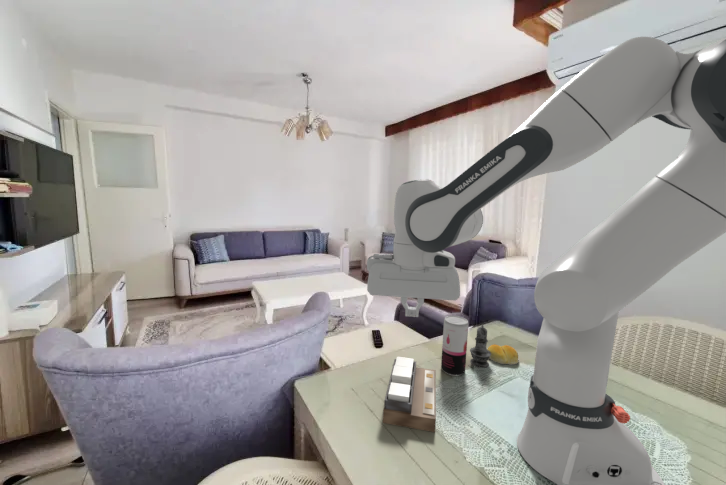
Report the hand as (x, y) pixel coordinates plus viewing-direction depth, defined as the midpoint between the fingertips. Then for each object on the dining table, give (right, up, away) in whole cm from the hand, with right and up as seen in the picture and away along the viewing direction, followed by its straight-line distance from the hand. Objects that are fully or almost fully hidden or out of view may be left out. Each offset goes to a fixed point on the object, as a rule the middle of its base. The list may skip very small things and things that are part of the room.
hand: (411, 315), depth 70 cm
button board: (+1, -22, +5) cm, 22 cm away
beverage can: (+15, -20, +18) cm, 31 cm away
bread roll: (+32, -20, +26) cm, 45 cm away
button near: (-3, -19, -1) cm, 19 cm away
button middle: (-2, -17, +5) cm, 18 cm away
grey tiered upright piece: (+24, -20, +22) cm, 38 cm away
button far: (0, -17, +11) cm, 20 cm away
